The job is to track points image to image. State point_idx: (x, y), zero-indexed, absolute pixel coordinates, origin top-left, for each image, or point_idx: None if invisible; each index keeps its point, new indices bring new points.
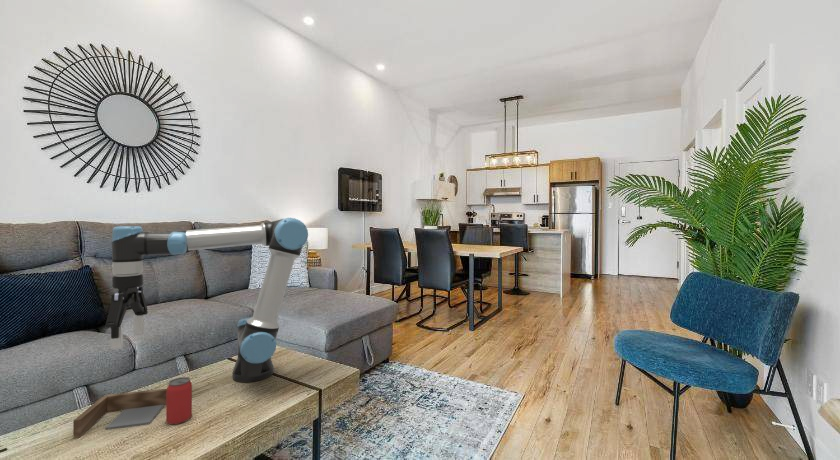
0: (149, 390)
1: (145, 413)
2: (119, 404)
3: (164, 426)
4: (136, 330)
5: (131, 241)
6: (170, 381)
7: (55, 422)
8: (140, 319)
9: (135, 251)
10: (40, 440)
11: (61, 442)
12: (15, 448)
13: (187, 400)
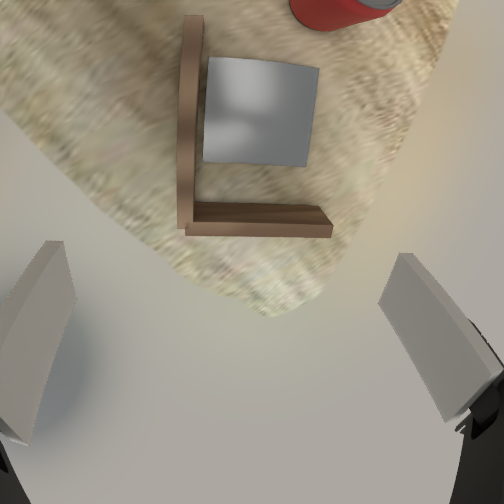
0: (179, 106)
1: (256, 91)
2: (194, 180)
3: (344, 34)
4: (58, 312)
5: None
6: (367, 2)
7: (216, 286)
8: (10, 373)
9: None
10: (295, 272)
11: None
12: (308, 294)
13: None
